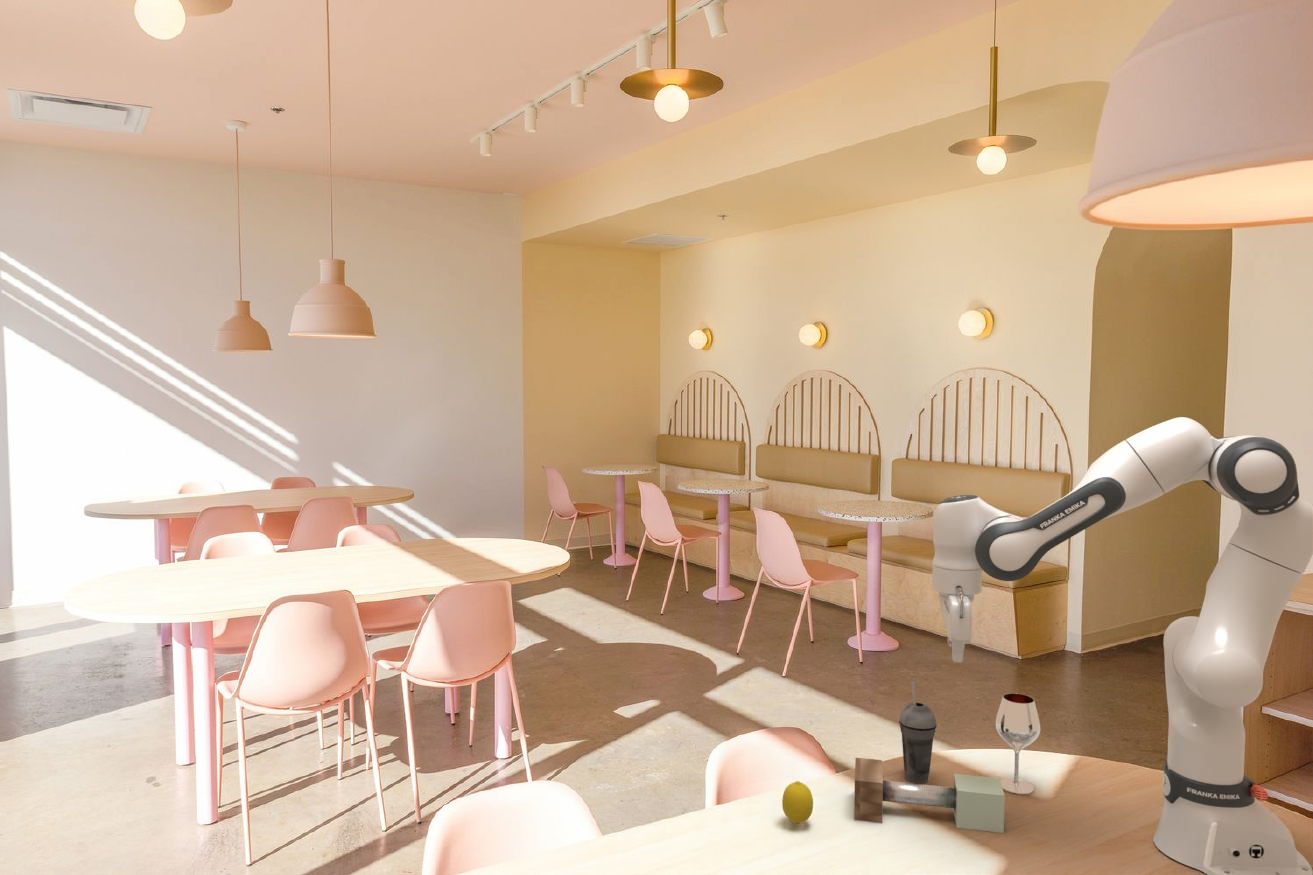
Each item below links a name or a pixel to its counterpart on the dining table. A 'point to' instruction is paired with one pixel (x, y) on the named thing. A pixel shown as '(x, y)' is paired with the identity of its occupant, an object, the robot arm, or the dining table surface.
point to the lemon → (797, 802)
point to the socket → (868, 790)
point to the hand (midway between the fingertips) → (954, 653)
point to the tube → (919, 794)
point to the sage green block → (979, 803)
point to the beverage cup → (917, 740)
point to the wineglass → (1017, 733)
